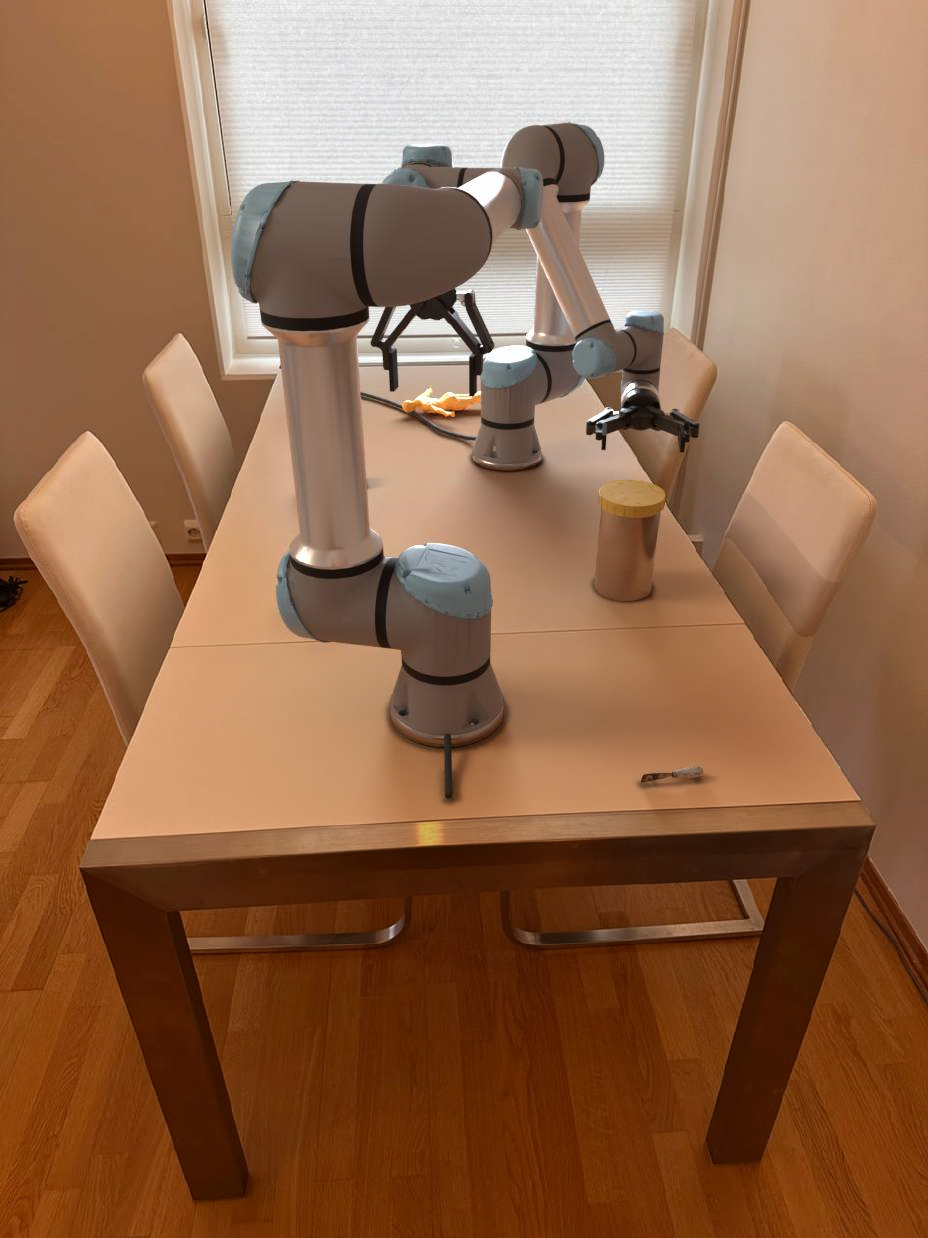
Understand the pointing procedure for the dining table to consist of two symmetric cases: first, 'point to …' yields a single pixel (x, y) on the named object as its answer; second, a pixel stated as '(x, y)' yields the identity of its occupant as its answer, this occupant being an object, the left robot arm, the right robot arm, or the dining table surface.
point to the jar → (625, 556)
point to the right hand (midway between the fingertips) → (643, 443)
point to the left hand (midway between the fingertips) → (433, 391)
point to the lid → (631, 498)
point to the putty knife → (674, 774)
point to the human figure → (441, 403)
